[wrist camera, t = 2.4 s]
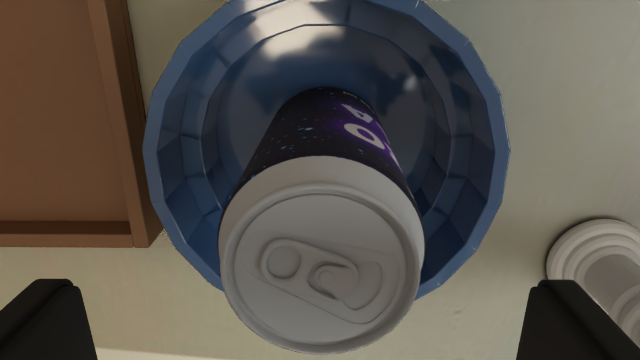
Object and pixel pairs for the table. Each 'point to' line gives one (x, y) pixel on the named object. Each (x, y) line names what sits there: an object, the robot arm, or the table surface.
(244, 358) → the table surface
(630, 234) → the chess piece
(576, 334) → the robot arm
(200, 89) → the bowl
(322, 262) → the beverage can
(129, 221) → the tray
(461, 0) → the table surface
